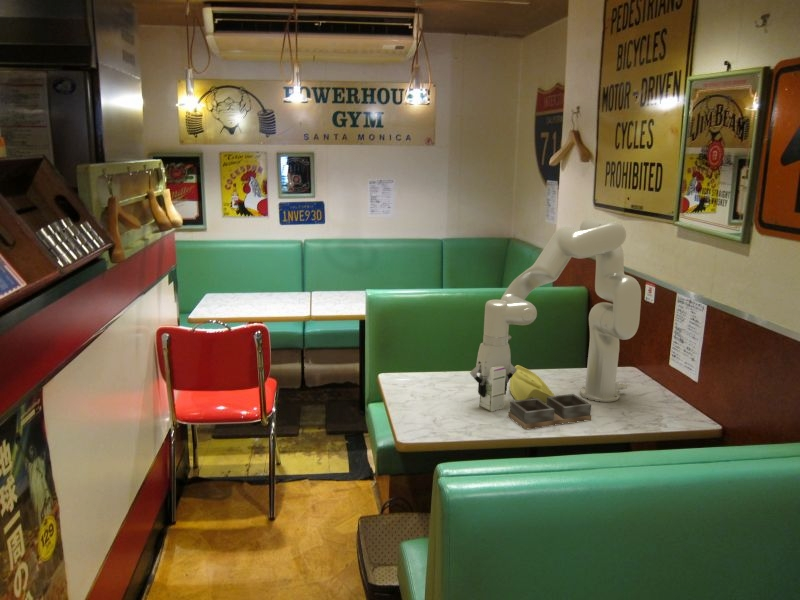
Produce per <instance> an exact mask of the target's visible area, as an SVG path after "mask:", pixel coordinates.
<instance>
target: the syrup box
mask: <svg viewBox="0 0 800 600" xmlns="http://www.w3.org/2000/svg"><path fill="white" fill-rule="evenodd" d="M505 377H506V370H505V368H504V367H503V366H496V367H491V368H490V375H489V377H487V379H486V381H485V384H484V385H486V392H485V397H482V396H480V395H479V403H478V404H479V407H481V408H483V409H484V410H487V411H489V412H496V411H500V410H503V409H504V408H505V395H504V393H505ZM502 408H503V409H502ZM499 409H500V410H499ZM495 410H496V411H495Z"/></svg>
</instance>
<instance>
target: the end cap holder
mask: <svg viewBox="0 0 800 600" xmlns="http://www.w3.org/2000/svg"><path fill="white" fill-rule="evenodd" d="M509 402H510V403H509V411H508V414H507V417H508V416H509V417H510V418H509V417H508V418H509V419H511V418H512V419H513V420H514V422H515V423H516V422H517V423H518V424H517V423H516V424H517V425H518V426H520V425H521V426H522V427H521V426H520V427H521V428H523V430H528V429H527V428H531V429H536V428H535V427H539V428H543V427H542V426H546V427H550V426H549V425H553V426H556V425H555V424H561V425H563V424H562V423H568V422H575V423H578V422H577V421H583V422H585V421H584V420H590V421H592V415H591V413H592V404H591V403H589V402H588V401H586V400H584V399H582V398H581V397H579V396H578V395H576V394H575V393H569V394H560V395H555V396H551V397H547V404H546V403H544V402H543V401H541V400H540V399H538V398H530V399H526V400H517V401H516V400H511V401H509ZM512 419H511V420H512ZM568 424H569V423H568Z"/></svg>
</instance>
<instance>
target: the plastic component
mask: <svg viewBox="0 0 800 600" xmlns="http://www.w3.org/2000/svg"><path fill="white" fill-rule="evenodd" d="M514 367H515V368H516V369H517V371H516V372H515V373H514V374H513V376H512V377H511V378H510V379H509V390H510V394H511V395H512V396H513V398H514V401H517V400H526V399H534V398H538V399H540V400H541V401H543V402H544V403H546V404H547V397H551V396H556V395H555V394H554V393H553V391H552V390H551V389H550V388H549V386H548V385H547V384H546V383H545V381H544V380H543V379H542V378H541V377H540V376H539V375H537V374H536V373H535V372H533V371H531V370H529V369H528V368H525V367H523V366H522V365H519V364H516V365H515V366H514Z"/></svg>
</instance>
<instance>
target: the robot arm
mask: <svg viewBox="0 0 800 600" xmlns="http://www.w3.org/2000/svg"><path fill="white" fill-rule="evenodd" d="M626 238H627V230H626V228H625V227H624V226H623V225H622V224H621V223H620V222H618V221H614V220H609V219H605V218H601V217H588V218H587V217H586V218H585V219H583V220H582V221H581V223H580V226H579V229H577V228H574V227H573V228H572V227H566V226H565V227H560V228H558V229H556V231H555V232H554V233H553V234H552V236H551V238H550V239H549V241H548V242H547V244H545V246H544V248H543V249H542V251H541V253H540V254H539V256H538V257H537V259H536V260H535V262H534V263H533V264H532V265H531V266H530V267H528V268H526V269H525V270H524V271H523V272H522V273H521V274H519V275H518V276H516V277H515V278H514V279H513V280H512V282H511V283H510V284H509V285H508V286H507V288H506V289H505V291H504V293H503V294H502V296H501V298H500V299H489V300H487V301H486V302H485V305H484V318H483V319H484V321H483V335H482V336H483V337H482V339H483V340H482V342H481V343H480V344H479V348H478V350H477V351H478V352H477V358H476V365H475V367H474V368H473V369H472V370H471V371H470V372H469V375H470V376H471V377H472V378H473V379H474V380H475V381H476V382H477V383H478V386H477V387H478V389H477V392H478V395H479V397H480V396H482V397H485V392H486V385H484V384H485V381H486V379H487V377H489V375H490V368H491V367H496V366H503V367H504V368H505V370H506V377H505V393H504V396H506V394H507V390H508V383H510V379H511V377H512V376H513V374H514V373H515V372H516V371H517V369H516V368H515V366H514V365H513V364H512V363H511V361H512V360H511V358H512V357H511V355H512V354H511V348H510V344H509V340H511V339H512V336H511V335H510V334H509V330H510V329H509V328H510V325H518V326H527V325H531V324H532V323H534V321H535V320H536V318H537V316H538V312H537V308H536V306H535V305H534V304H533V303H532V302H531V301H528V300H526V298H527V297H528V296H529V294H531V292H533V291H534V290H535V289H537V288H539V287H541V286H545V285H547V284H551V283H553V282H556V281H557V280H558V278H559V277H560V276H561V274H562V272H563V271H564V269H565V268H566V266H567V265H568V263H569V261H571V259H572V258H575V259H579V260H580V259H581V260H582V259H587V258H591V257H595V279H594V288H595V289H594V291H595V293H596V295H597V296H598V297H599V298H601V299H603V300H605V301H608V302H605V301H602V302H598V303H596V304H594V306H593V307H591V309H590V311H589V314H588V326H589V327H588V328H589V343H588V344H589V346H588V354H587V356H588V357H587V366H586V367H587V368H586V376H585V377H586V378H585V386H583V387H582V388H580V390H579V393H580V395H581V397H583V396H584V397H583V398H585V399H587V398H588V399H587V400H590V401H593V400H595V401H594V402H599V401H600V402H599V403H601V402H602V403H610V402H611V403H612V402H615V401H618V400H619V398H620V393H619V392H618V391H620V390H626V389H628V384H627V383H626V382H625V383H624V382H623V383H619V381H617V375H618V364H619V355H620V354H619V353H620V340H623V341H625V340H629V339H630V340H631V338H633V337H634V336H635V335H636V333H637V331H638V329H639V327H640V326H639V325H640V318H641V305H642V303H641V302H642V288H641V285H640V284H639V281H637V279H636V278H634V277H633V276H631V275H628V274H625V270H624V268H625V266H624V265H625V264H624V262H625V259H624V257H625V254H624V250H623V246H622V245H623V244H624V242H625V241H626ZM478 374H479V375H478Z"/></svg>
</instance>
